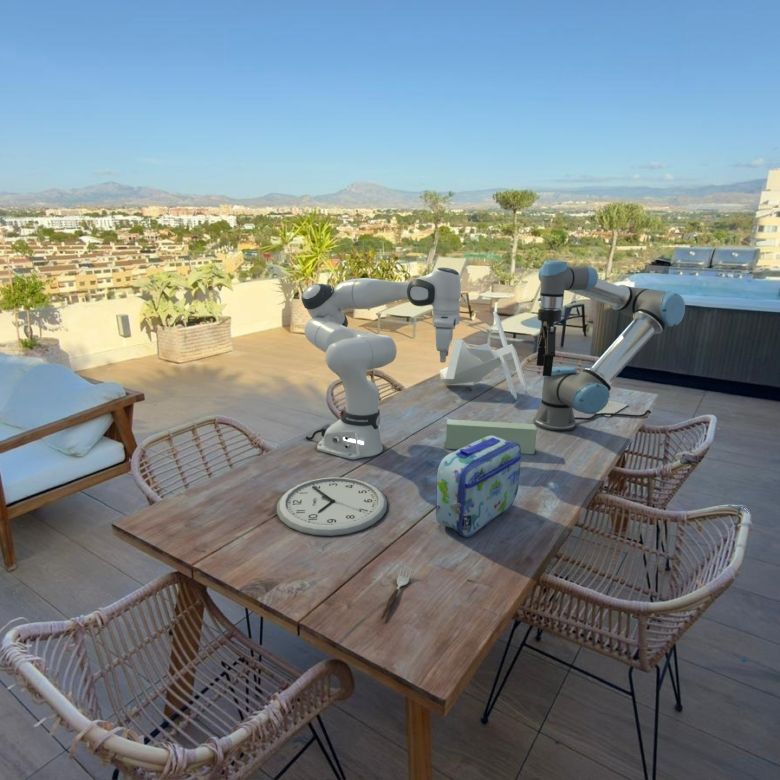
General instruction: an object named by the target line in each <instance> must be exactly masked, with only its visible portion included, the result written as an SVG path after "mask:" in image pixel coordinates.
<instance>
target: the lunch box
mask: <svg viewBox="0 0 780 780" xmlns="http://www.w3.org/2000/svg"><path fill="white" fill-rule="evenodd" d="M521 455H522V453H521V449H520V445H519V444H518V443H517V442H509V441H506V440H504V439H501V438H498V437H496V436H487V437H485V438H482V439H480V440H478V441H476V442H474V443H471V444H469V445H467V446H465V447H463V448H461V449H456V450H454V451H453V452H451V453H448V454H446V455H445V456H444V457H443V458H442V459H441V460H440V463H439V465H438V467H437V474H436V485H435V486H436V494H435V495H436V497H435V498H436V499H435V516H436V522H437V523H438V524H440V525H442V526H445V527H448V528H450V529H453V530H454V531H456V532H458V534H459V535H461V537H465V538H470V537H471V536H473V535H475V534H476V533H477V532H478V531H479V530H480V529H482V528H483V527H485V526H486V525H488V524H489V523H490V522H491V521H493V520H494V519H495V518H496V517H497V516H499V515H501V514H502V513H504V512H505V511H507V510H508V509H510V508H511V507H512V506H513V504H514V502H515V500H516V498H517V495H518V494H517V493H518V491H519V483H520V474H521V458H522V457H521Z"/></svg>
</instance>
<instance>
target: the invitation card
mask: <svg viewBox="0 0 780 780" xmlns="http://www.w3.org/2000/svg"><path fill="white" fill-rule="evenodd" d="M608 400H609V399H608ZM628 406H629V404H627V403H623V402H618V401H614V400H609V401H608V403H607V405H606V406H605V407H604V408H603V409H602V410H601V411H599V412H597V413H595V414H598V413H615V414H617V413H618V412H619V411H621V410H623V409H624V408H626V407H628ZM603 416H604V417H608V418H609V417H611V416H612V415H603Z"/></svg>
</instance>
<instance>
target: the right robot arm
mask: <svg viewBox="0 0 780 780" xmlns="http://www.w3.org/2000/svg"><path fill="white" fill-rule="evenodd" d="M537 275H538V276H537V277H538V280H539V282H540V290H539V291H540V293H539V297H538V298H537V301H538V307H539V308H538V310H537V320H538V321H540V323H541V324H540V329H539V333H538V339H537V346H538V348H537V355H536V356H537V358H536V366H537V367H543V368H542V377H543V381H542V382H543V383H542V394H541V402H540V405H539V407H538V410H537V411H536V413H535V416H534V424H535V426H537V427H539V428H542V429H544V430H549V431H556V432H567V431H572V430H574V429H575V428H576V420H581V421H590V420H593V419H595V418H596V417H598V416H604V415H611V416H618V417H629V418H631V417H632V418H642V417H645V416H646V415H647V414H648V413H649V414H651V413H652V412H651V410H650V409H647V410H645V412H644V413H643V414H630V413H598V414H596V413H597V412H599V411H601V410H602V409H603V408H604V407H605V406H606V405H607V403H608V401H609V399H610V395H611V394H610V391H611V389H612V384H611V383H612V382H613V381H614V380H615V379H616V378H617V376H618V375H619V374H620V373H621V372H622V371H623V369H624V368H625V367H626V366H627V365H628V364H629V363H630V362H631V361H632V360H633V358H634V357H635V356H637V354H638V353H639V352H640V350H641V349H642V348H644V346H645V345H646V344H647V343H648V341H649V340H651V338H652V337H653V336H654V335H660V334H661V333H662V332H664V330H665V329H666V328H667V327H671V328H672V327H675V326H678V325H679V324H680V323H681V322H682V320H683V318H684V316H685V314H686V303H685V299H684V298H683V296H682V295H681V294H679V293H677V292H672V291H671V290H668V291H665V290H657V289H653V288H644V287H634V286H628V285H626V284H619V285H617V284H615V283H611V282H609V281H605V280H603V279H600V278H599V274H598V271H597V270H596V268H595V267H593V266H586V265H584V266H577V265H576V266H575V265H569V264H568V262H567V261H566V260H545V261H544V262H543V264H542V266H541V267H540V268H539V270H538V274H537ZM565 291H567V292H570V293H573V294H576V295H578V296H582V297H585V298H587V299H590V300H594V301H597V302H599V303H602V304H605V305H608V306H609V307H610V309H612V310H614V311H616V312H619V313H622V314H624V315H627V316H628V317H631V318H633V319H632V321H631V323H629V324H628V325H627V327H626V328H625V329H624V330H622V332H621V333H620V335H618V336H617V338H616V339H615V340H614V341H613V342H612V343H611V345H610V346H609V347H608V348H607V349H606V350H605V351H604V353H603V354H602V355H601V356H600V357H599V358H598V359H597V360H596V361H595V362H594V364H593V365H592V366H591V367H586V368H583V370H581V371H580V373H579V374H578V369H577V368H576V367H573V366H566V365H565V366H564V365H562V366H561V365H559V366H558V365H557V366H553V365H554V358H555V357H556V336H557V335H556V334H557V333H556V332H557V326H555V323H558V322H561V320H562V314H563V311H562V309H563V306H564V297H565ZM574 409H575V410H576V411H577V412H580V413H584V414H587V415H592V416H590V417H580V416H579V417H577V416H575V413H574Z"/></svg>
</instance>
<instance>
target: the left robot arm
mask: <svg viewBox="0 0 780 780" xmlns="http://www.w3.org/2000/svg"><path fill="white" fill-rule="evenodd" d="M461 285H462V284H461V276H460V272H458V271H457V270H456V269H454V268H450V267H437V268H436V269H435V270H433V271H432V272H430V273H428V274H426V275H422V276H420V277H416V278H414V279H412V280H410V281H393V280H384V279H378V278H370V277H369V278H367V277H364V278H363V277H361V278H351V279H346V280H343V281H340V282H338V283H337V285H336V286H335V287H334V286H333V285H332V284H329V283H313V284H311V285H308V286H307V287H306V288H305V289H304V290H303V292H302V293H301V297H300V298H301V302H302V305H303V307H304V308H305V309H306V311H307V313H308V315H309V316H310V319H309V320H307V322H306V324H305V326H304V330H303V331H304V336H305V338H306V339H307V340H308V341H309V342H310V344H312V345H313V346H314V347H315V348H317V349H318V350H320V351H321V352H324V353H325V362H326V365H327V367H328V369H329V370H330V371H332V373H333V374H336V375H337V376H338V377H339V379H340V381H341V382H342V385H343V389H344V398H345V399H344V400H345V401H344V402H345V406H343V409H341V410H340V412H339V413H338V418H339V419H338V420H336V421H335V422H333V423H332V424H325V425H324V426H322V427H321V429H320V428H319V429H317V430H315V431H314V432H313V433H312V435H311V436H305V439H306V440H308V441H311V440H313V439H315V436H316V435H317V434H319V433H321V437H323V438H322V439H321V440H320V441H319V442H318V443H317V445H316V450H317V451H319V452H322V453H326V454H329V455H332V456H336V457H341V458H344V459H348V460H358V459H361V458H368V457H369V458H370V457H374V456H377V455H379V454H381V453H382V452H383V450H384V447H383V444H382V439H381V434H380V425H381V413H380V412H381V411H380V408H379V405H380V404H379V401H380V399H379V398H380V397H379V394H380V393H379V392H380V390H379V388H378V386H377V384H375V382H373V381H372V380H369V379H368V378H367V371H369V370H374V369H379V368H383V367H385V366H387V365H389V364H391V363H393V362H394V361H395V359H396V358H397V352H398V351H397V345H396V342H395V341H394V339H393V338H392V337H391V336H389V335H384V334H377V333H371V332H368V331H364V330H360V329H354V328H350V327H348V325H349V321H348V317H347V315H346V314H345V313H344V310H347V309H352V310H368V309H370V310H371V309H375V308H379V307H381V306H386V305H388V304H391V303H394V302H397V301H404V300H408V301H409V302H410V304H412V305H413V306H415V307H427V306H432V324H433V328H435V330H434V332H435V347H436V351H437V352H439V362H440V363H443V364H444V363H446V362H447V357H448V356H449V349H450V346H451V344H452V341H453V335H454V334H453V333H454V330H455V329H456V326H457V325H459V324H460V316H461V315H460V312H461V309H460V307H461V306H460V299H461V291H462V286H461Z"/></svg>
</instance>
